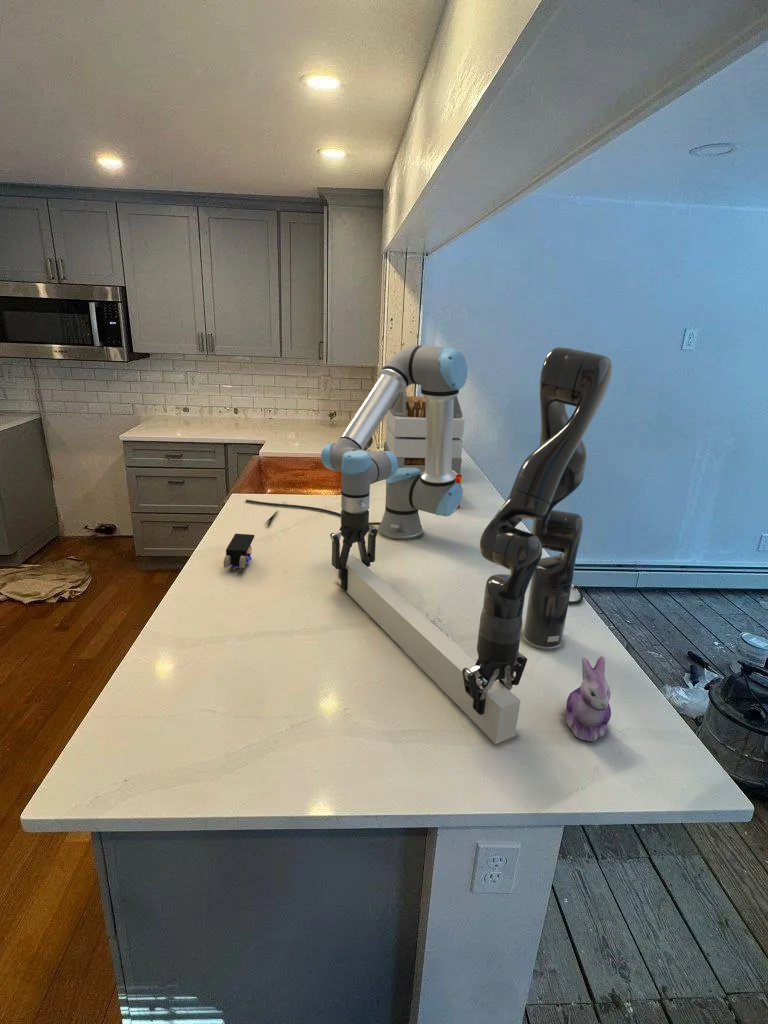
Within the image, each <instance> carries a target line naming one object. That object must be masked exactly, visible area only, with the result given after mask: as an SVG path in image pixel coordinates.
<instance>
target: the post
mask: <svg viewBox="0 0 768 1024" xmlns="http://www.w3.org/2000/svg"><path fill="white" fill-rule="evenodd" d="M346 569H348V588H347V591H345V593H347V594H348V595H349V596H350V597H351V599H353V600H354V601H355V602H356V603H357V604H358V605H359V606H360V607H361V609H362V610H364V612H366V614H367V615H368V616H369V617H370V618H371V619H372V620H373V621H374V622H375V623H377V625H378V626H379V627H381V629H382V630H383V631H384V632H385V633H386V634H387V635H388V636H389V637H390V638H391V639H392V640H393V641H394V642H395V643H396V644H397V645H398V646H399V648H400V649H402V650H403V651H404V652H405V653H406V654H407V655H408V657H410V658H411V659H412V660H413V661H414V662H415V664H417V666H419V668H420V669H421V670H422V671H423V672H424V673H425V674H426V675H427V676H428V677H429V678H430V679H431V680H432V681H433V682H434V683H435V684H436V685H437V686H438V687H439V688H440V689H441V690H442V691H443V693H445V694H446V695H447V696H448V697H449V698H450V699H451V700H452V701H453V702H454V703H455V704H456V705H457V706H458V708H460V710H462V712H463V713H465V714H466V715H467V717H468V718H470V720H472V722H474V724H475V725H476V726H477V727H478V728H479V729H480V730H481V731H482V732H483V734H485V735H486V736H487V737H488V738H489V739H490V740H491V742H493V743H494V744H495V745H497V744H499V743H502V742H505V741H507V740H510V739H512V738H514V737H516V732H517V725H518V719H519V713H520V706H521V700H520V698H518V696H517V695H515V693H513V692H512V691H511V690H510V691H509V690H508V689H507V688H506V687H505V686H503V685H502V684H501V683H500V682H499V681H498V680H496V681H494V683H493V686H492V688H491V689H490V690H488V692H487V695H486V697H485V699H486V701H485V709H484V714H482V715H479V714H478V713H477V712H476V711H475V710H474V709H473V698H471V697H470V696H469V695H468V694H467V693H466V692H465V686H464V680H463V674H462V670H463V669H464V668H468V669H471V668H473V667H475V664H476V662H477V660H475V658H473V657H472V656H470V655H469V654H468V653H467V652H466V651H465V650H464V649H462V648H461V647H460V646H459V645H458V644H457V643H456V642H455V641H453V640H452V639H451V638H450V637H449V636H448V635H446V634H445V633H444V632H443V631H442V630H441V629H440V628H438V627H437V626H436V625H435V624H434V623H432V621H430V620H429V619H428V618H427V617H425V615H424V614H422V613H421V612H420V611H419V610H418V609H416V608H415V607H414V606H413V605H412V604H411V603H409V601H407V600H406V599H405V598H404V597H403V596H402V595H400V594H399V593H398V592H397V591H396V590H394V588H392V587H391V585H389V584H388V583H387V582H386V581H384V580H383V579H382V578H381V577H380V576H379V575H378V574H376V573H375V572H374V571H373V570H372V569H371V568H370V567H367V566H366V565H365V564H364V563H362V561H361V559H359V558H358V556H356V555H355V554H354V553H351V554H349V556H348V560H347V564H346ZM337 584H338V585H339V586H340V587H341V580H340V579H339V577H338V576H337ZM483 679H484V678H483ZM484 680H485V679H484ZM485 681H486V680H485ZM486 682H487V681H486ZM480 690H482V686H481V688H480Z"/></svg>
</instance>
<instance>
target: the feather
mask: <svg viewBox="0 0 768 1024" xmlns="http://www.w3.org/2000/svg"><path fill="white" fill-rule="evenodd" d="M277 513H278V511H276V512H274V513H273V515H272V516H270V518H268V520H267V521H265V524H267V525H268V526H267V527H270V525H271V523H272V521H273V520H274V518H275V516H276V515H277Z"/></svg>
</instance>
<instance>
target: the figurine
mask: <svg viewBox="0 0 768 1024" xmlns="http://www.w3.org/2000/svg"><path fill="white" fill-rule="evenodd" d="M581 669H582V682H580V683H581V684H580V686H579V687H577V688H575V689H574V690H573V691H571V692H570V693H569V694H568V696H567V700H566V708H565V713H564V716H565V722H566V726H568V727H569V729H570V730H571V731H572V732H573V735H574V736H575V737H576V738H578V739H580V740H584V741H586V742H587V741H588V742H595V741H597V740H598V738H602V737H604V736H605V734H606V731H607V728H608V723H609V722H610V720H611V717H612V709H611V705H610V699H611V688H610V686H609V684H608V681H607V679H606V675H605V670H606V659H605V656H603V655H601V656H599V657H598V658H597V660H596V662H595V665H594V667H593V666H592V664H591V663H590V660H589V659H587V658H586V657H582V658H581Z"/></svg>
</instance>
